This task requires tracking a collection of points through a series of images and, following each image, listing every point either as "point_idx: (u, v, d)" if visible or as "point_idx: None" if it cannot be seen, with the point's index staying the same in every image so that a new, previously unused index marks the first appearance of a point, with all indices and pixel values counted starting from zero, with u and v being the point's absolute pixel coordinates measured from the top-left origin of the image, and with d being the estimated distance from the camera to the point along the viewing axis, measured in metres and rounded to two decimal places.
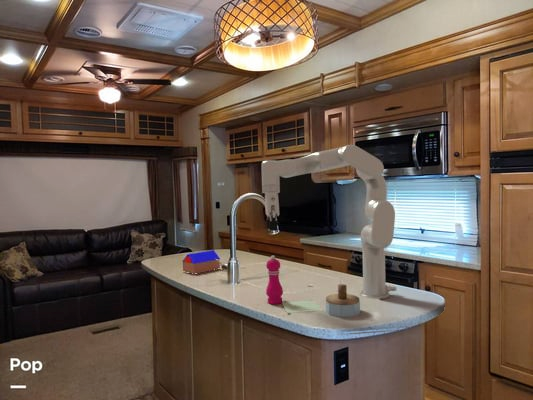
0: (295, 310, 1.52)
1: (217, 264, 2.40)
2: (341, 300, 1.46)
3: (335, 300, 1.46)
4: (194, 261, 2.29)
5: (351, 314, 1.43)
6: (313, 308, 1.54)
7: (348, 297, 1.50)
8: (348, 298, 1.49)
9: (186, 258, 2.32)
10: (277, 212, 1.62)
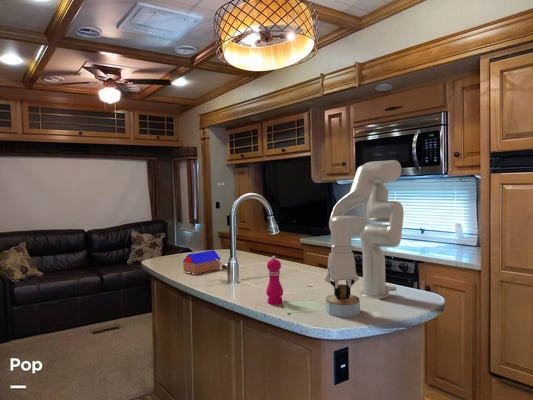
0: (295, 310, 1.52)
1: (218, 264, 2.40)
2: (341, 300, 1.46)
3: (335, 300, 1.46)
4: (195, 261, 2.28)
5: (351, 314, 1.43)
6: (313, 308, 1.54)
7: None
8: (348, 298, 1.49)
9: (187, 258, 2.32)
10: None
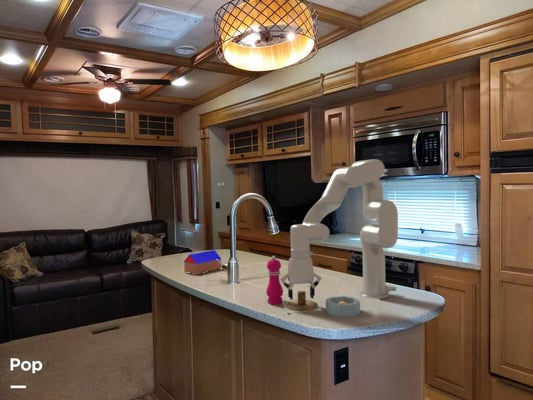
0: None
1: (218, 264, 2.40)
2: (300, 306, 1.55)
3: (294, 306, 1.55)
4: (196, 261, 2.28)
5: (351, 314, 1.43)
6: None
7: (307, 303, 1.58)
8: (307, 304, 1.57)
9: (188, 258, 2.31)
10: None
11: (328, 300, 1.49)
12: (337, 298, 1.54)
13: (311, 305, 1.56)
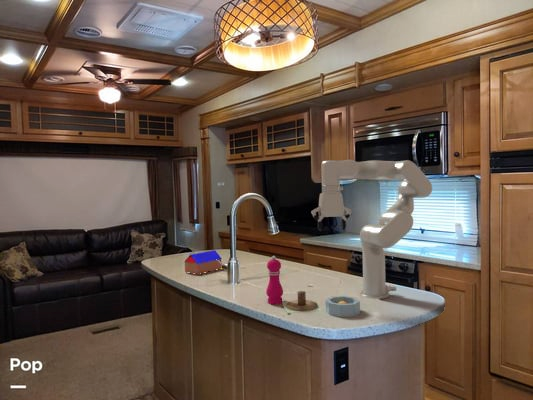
0: None
1: (219, 264, 2.40)
2: (300, 306, 1.55)
3: (294, 306, 1.55)
4: (197, 261, 2.28)
5: (351, 314, 1.43)
6: None
7: (307, 303, 1.58)
8: (307, 304, 1.57)
9: (188, 258, 2.31)
10: None
11: (328, 300, 1.49)
12: (337, 298, 1.54)
13: (311, 305, 1.56)
